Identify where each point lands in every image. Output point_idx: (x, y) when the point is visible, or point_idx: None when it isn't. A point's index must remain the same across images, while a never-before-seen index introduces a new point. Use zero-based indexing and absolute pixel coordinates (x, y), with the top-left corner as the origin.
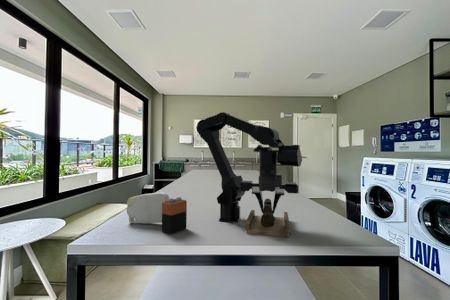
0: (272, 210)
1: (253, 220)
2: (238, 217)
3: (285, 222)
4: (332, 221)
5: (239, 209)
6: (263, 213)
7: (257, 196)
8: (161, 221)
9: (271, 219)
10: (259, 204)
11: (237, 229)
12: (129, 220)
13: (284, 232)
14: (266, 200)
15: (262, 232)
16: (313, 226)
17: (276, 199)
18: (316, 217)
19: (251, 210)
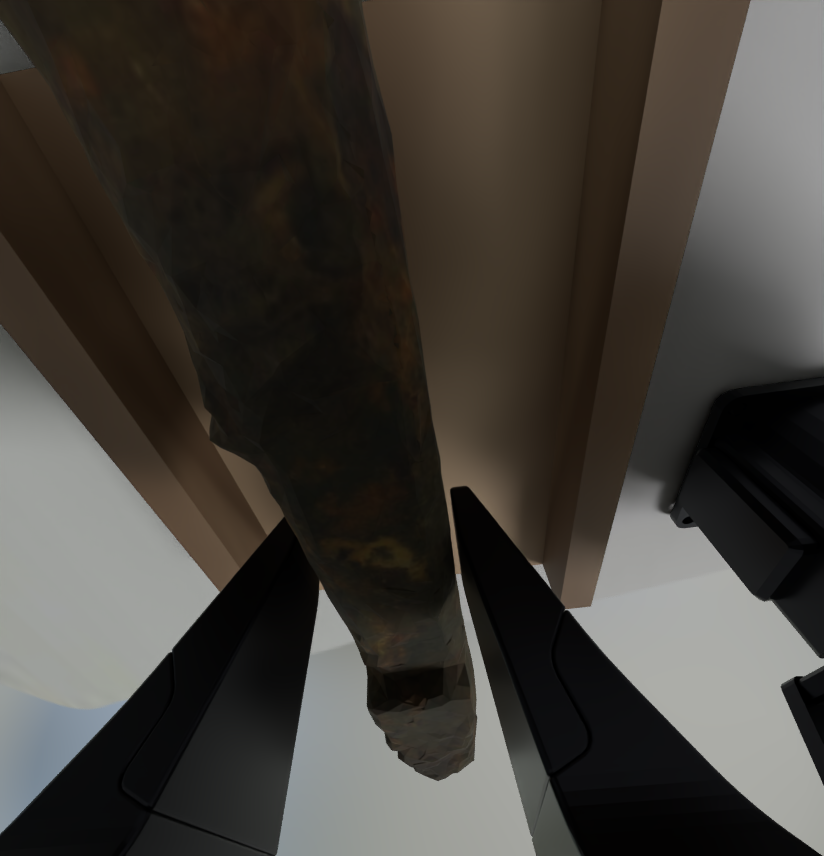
0: (223, 446)
1: (546, 449)
2: (714, 459)
3: (67, 332)
4: (11, 637)
5: (756, 546)
6: (369, 179)
7: (733, 839)
8: None
9: None
10: (543, 582)
11: (744, 148)
12: None
13: (42, 125)
14: (449, 739)
15: (366, 6)
16: (41, 529)
17: (97, 789)
18: (139, 661)
19: (590, 593)
